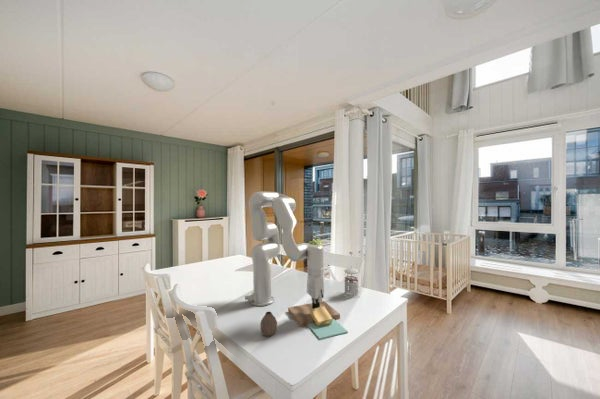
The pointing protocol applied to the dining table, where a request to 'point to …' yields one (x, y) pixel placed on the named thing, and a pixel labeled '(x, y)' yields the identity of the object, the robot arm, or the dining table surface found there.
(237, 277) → the dining table surface
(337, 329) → the mat
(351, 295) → the french press
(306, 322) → the wooden board
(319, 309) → the yellow flat block
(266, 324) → the vase
